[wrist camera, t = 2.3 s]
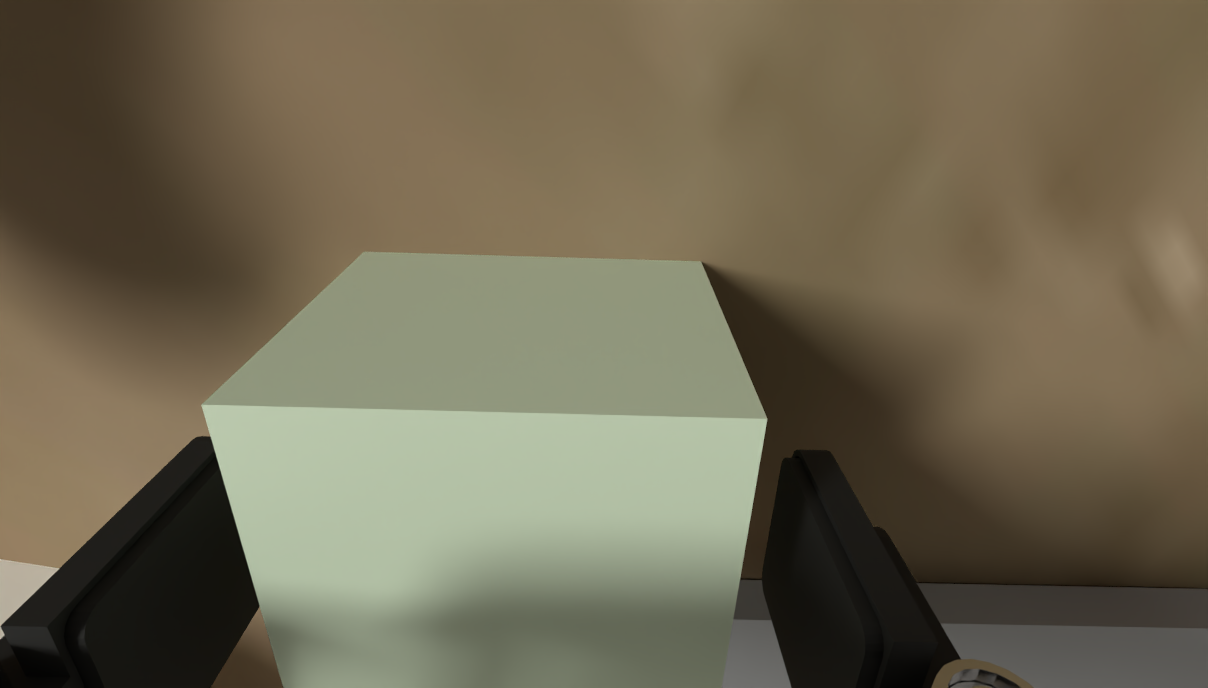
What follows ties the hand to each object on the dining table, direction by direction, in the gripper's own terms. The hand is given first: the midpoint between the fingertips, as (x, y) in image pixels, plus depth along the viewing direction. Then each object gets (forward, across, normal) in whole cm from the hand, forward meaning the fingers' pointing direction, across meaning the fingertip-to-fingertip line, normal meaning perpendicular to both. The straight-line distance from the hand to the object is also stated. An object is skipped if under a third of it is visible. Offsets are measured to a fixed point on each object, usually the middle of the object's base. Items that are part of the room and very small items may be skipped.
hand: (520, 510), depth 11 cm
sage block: (+3, 0, -1) cm, 3 cm away
